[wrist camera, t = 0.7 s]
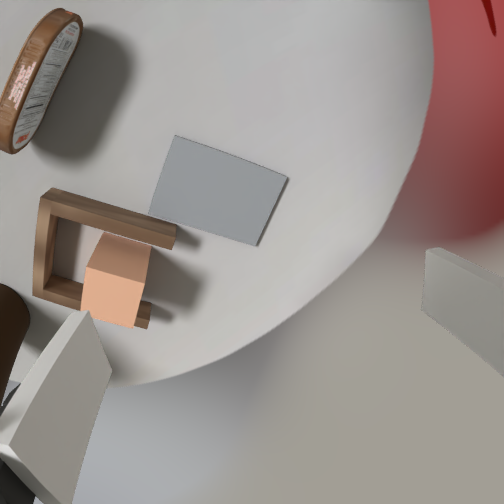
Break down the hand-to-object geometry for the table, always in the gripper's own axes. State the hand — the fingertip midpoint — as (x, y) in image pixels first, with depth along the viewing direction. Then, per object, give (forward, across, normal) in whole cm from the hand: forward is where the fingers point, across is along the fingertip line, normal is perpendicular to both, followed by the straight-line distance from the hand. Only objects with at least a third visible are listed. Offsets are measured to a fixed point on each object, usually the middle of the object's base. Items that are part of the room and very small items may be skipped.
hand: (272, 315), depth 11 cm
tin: (+22, -17, +18) cm, 33 cm away
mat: (+25, -1, +2) cm, 25 cm away
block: (+26, -13, -4) cm, 30 cm away
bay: (+26, -16, -3) cm, 31 cm away
